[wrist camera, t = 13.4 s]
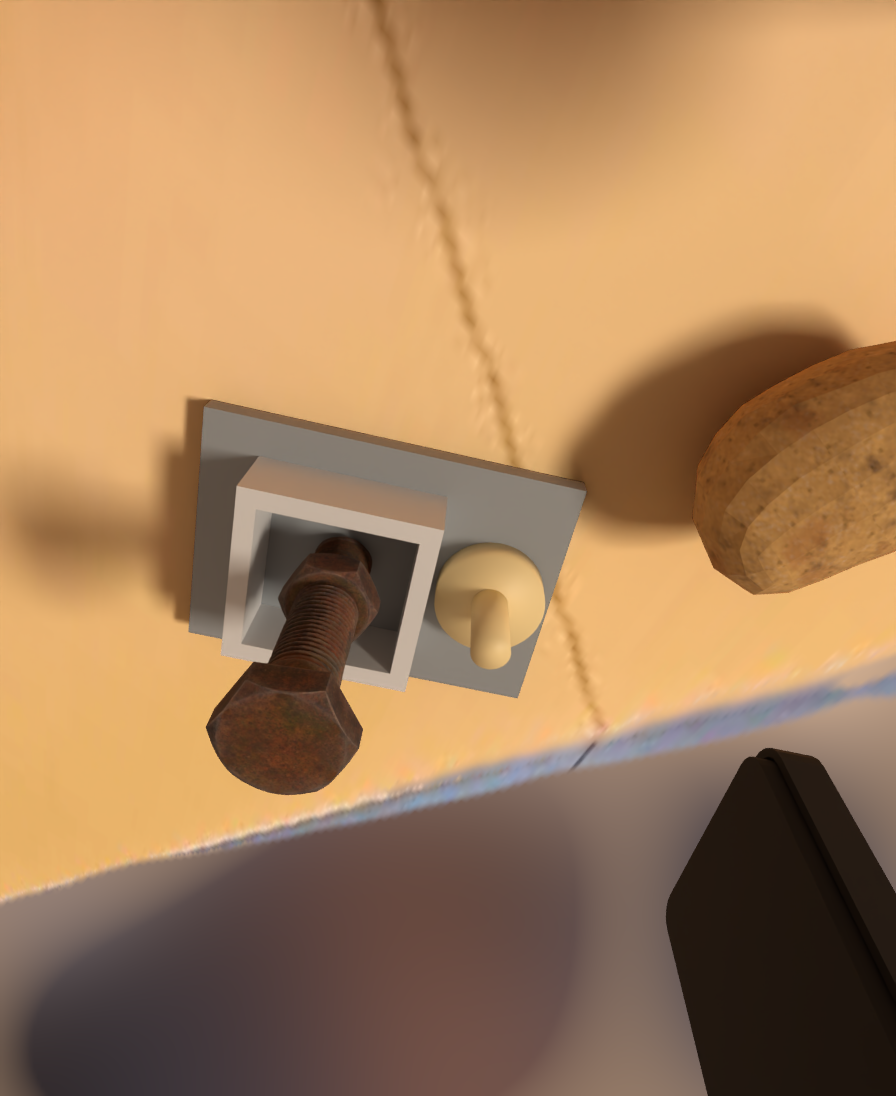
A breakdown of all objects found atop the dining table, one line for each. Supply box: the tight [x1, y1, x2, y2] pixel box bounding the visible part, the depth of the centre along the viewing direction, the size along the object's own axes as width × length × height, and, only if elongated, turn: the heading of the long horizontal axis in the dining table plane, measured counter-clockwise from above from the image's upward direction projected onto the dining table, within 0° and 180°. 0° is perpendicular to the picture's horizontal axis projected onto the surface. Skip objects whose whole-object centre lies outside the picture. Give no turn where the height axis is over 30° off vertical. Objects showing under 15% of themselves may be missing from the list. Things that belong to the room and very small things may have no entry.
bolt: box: [206, 536, 381, 795], centre depth 34 cm, size 6×5×15 cm
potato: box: [692, 341, 896, 595], centre depth 35 cm, size 10×14×8 cm
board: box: [189, 400, 587, 698], centre depth 39 cm, size 20×14×7 cm
